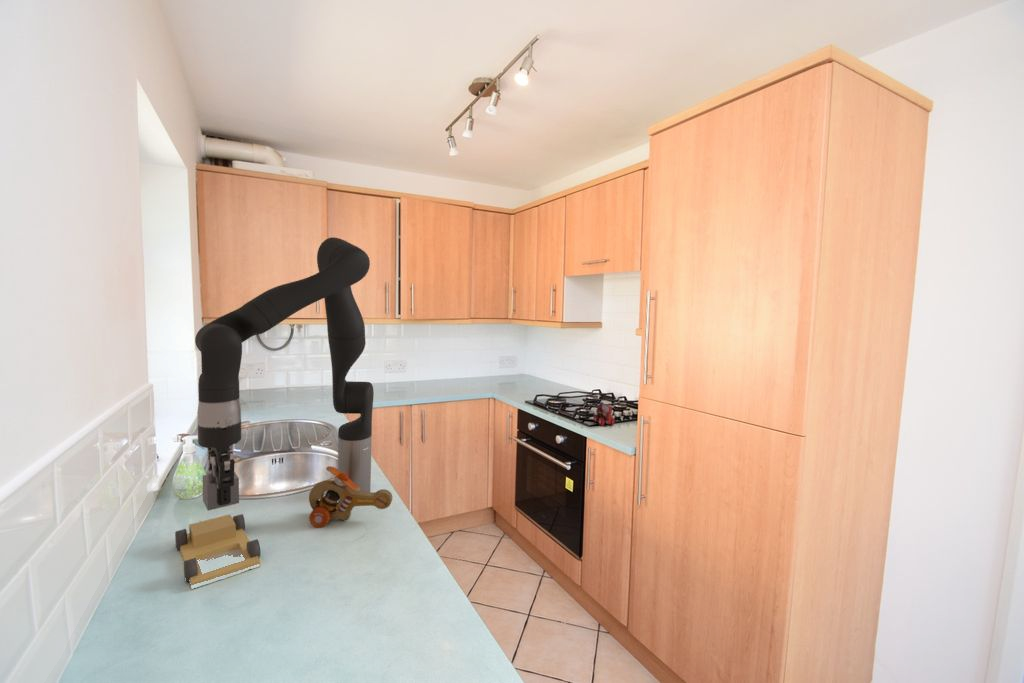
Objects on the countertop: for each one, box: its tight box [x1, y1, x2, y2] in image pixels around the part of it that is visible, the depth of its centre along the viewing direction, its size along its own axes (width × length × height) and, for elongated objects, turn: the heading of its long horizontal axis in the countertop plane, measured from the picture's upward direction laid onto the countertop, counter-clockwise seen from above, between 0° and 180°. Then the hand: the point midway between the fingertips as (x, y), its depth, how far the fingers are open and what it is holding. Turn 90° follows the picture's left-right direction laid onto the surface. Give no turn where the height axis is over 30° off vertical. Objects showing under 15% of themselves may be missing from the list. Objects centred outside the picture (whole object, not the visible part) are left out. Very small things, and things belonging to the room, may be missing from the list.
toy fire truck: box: [593, 401, 615, 427], centre depth 217 cm, size 7×12×10 cm, turn 17°
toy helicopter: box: [308, 465, 393, 528], centre depth 115 cm, size 8×21×14 cm, turn 95°
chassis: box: [174, 513, 261, 585], centre depth 98 cm, size 21×13×4 cm, turn 43°
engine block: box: [202, 471, 240, 511], centre depth 93 cm, size 6×6×6 cm
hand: (221, 498), depth 93 cm, fingers closed on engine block, 5 cm apart
